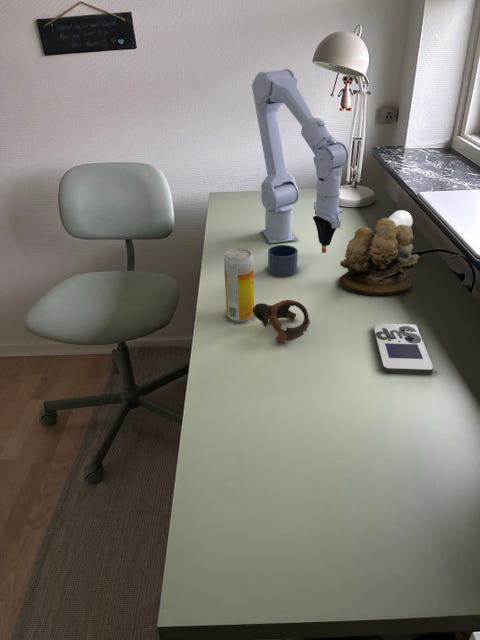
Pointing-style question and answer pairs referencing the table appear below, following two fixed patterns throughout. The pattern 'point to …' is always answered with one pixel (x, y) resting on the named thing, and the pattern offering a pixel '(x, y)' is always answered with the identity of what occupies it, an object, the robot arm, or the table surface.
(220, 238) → the table surface
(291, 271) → the cup
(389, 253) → the owl figurine
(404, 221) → the white rounded cylinder
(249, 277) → the beer can
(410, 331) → the handheld game console
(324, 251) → the baton
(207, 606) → the table surface
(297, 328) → the brown knobby curled ring
